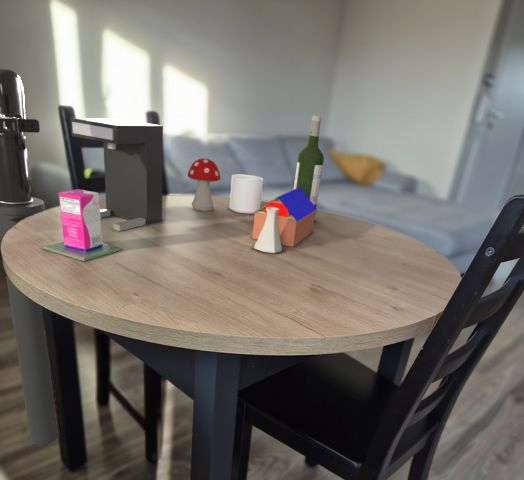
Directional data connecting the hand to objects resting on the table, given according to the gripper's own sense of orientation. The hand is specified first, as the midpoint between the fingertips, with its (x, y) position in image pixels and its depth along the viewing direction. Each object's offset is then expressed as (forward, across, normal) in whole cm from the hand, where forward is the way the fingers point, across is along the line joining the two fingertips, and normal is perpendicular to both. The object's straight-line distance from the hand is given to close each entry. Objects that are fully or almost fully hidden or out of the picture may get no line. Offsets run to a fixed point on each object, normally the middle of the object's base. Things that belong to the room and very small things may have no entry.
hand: (29, 123), depth 92 cm
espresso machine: (+26, +14, +24) cm, 38 cm away
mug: (+71, +15, +24) cm, 77 cm away
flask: (+46, -22, +24) cm, 57 cm away
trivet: (+6, -6, +24) cm, 25 cm away
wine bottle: (+81, -2, +24) cm, 84 cm away
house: (+60, -14, +24) cm, 67 cm away
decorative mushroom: (+57, +19, +24) cm, 65 cm away
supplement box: (+6, -6, +24) cm, 25 cm away
